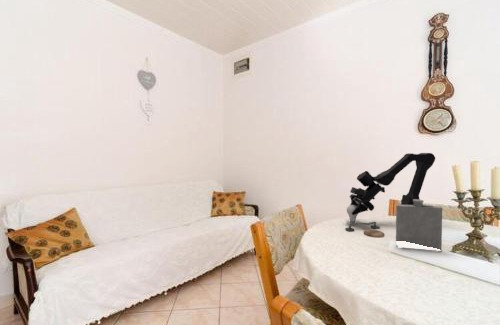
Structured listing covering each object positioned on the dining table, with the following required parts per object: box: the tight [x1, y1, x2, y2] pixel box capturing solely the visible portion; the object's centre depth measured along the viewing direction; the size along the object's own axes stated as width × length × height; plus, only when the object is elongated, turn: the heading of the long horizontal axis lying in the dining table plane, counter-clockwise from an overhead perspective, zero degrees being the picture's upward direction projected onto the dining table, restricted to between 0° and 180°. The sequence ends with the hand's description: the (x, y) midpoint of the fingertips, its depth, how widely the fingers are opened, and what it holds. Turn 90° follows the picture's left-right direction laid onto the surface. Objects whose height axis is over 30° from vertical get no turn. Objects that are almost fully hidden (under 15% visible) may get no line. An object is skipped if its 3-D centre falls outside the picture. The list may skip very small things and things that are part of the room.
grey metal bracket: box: [344, 221, 381, 233], centre depth 127 cm, size 18×4×4 cm, turn 104°
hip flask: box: [395, 199, 443, 251], centre depth 102 cm, size 16×4×20 cm, turn 72°
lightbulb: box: [346, 205, 359, 224], centre depth 135 cm, size 6×6×11 cm
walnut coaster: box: [363, 229, 385, 238], centre depth 119 cm, size 9×9×1 cm
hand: (350, 212), depth 135 cm, fingers closed on lightbulb, 6 cm apart
